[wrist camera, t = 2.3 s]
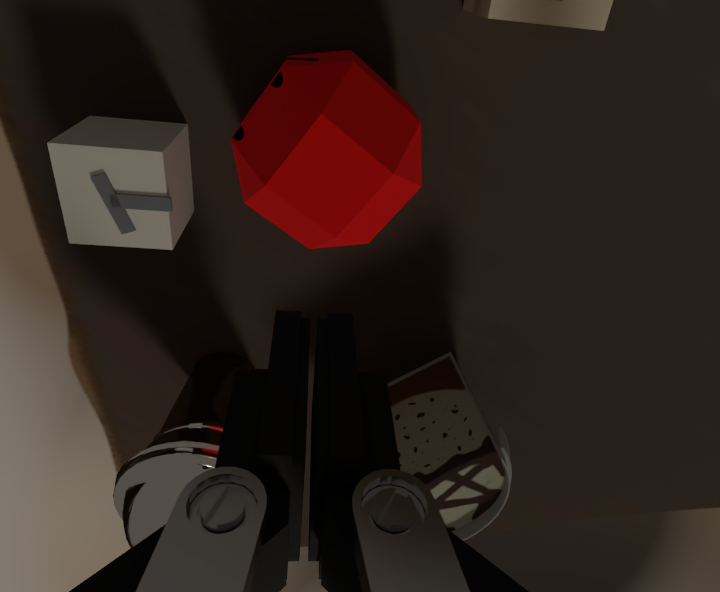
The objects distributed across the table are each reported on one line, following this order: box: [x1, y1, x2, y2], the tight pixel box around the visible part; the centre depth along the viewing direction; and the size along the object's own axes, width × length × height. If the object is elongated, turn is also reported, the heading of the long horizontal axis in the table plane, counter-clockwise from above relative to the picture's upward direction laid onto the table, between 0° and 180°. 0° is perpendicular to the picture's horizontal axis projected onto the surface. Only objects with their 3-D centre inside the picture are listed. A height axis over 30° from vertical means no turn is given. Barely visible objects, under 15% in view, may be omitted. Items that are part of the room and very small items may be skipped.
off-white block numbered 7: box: [47, 116, 194, 250], centre depth 27 cm, size 5×5×5 cm
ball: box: [231, 50, 422, 249], centre depth 25 cm, size 8×8×8 cm
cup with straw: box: [113, 352, 255, 548], centre depth 29 cm, size 8×9×20 cm
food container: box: [387, 352, 512, 541], centre depth 35 cm, size 12×6×10 cm, turn 122°
